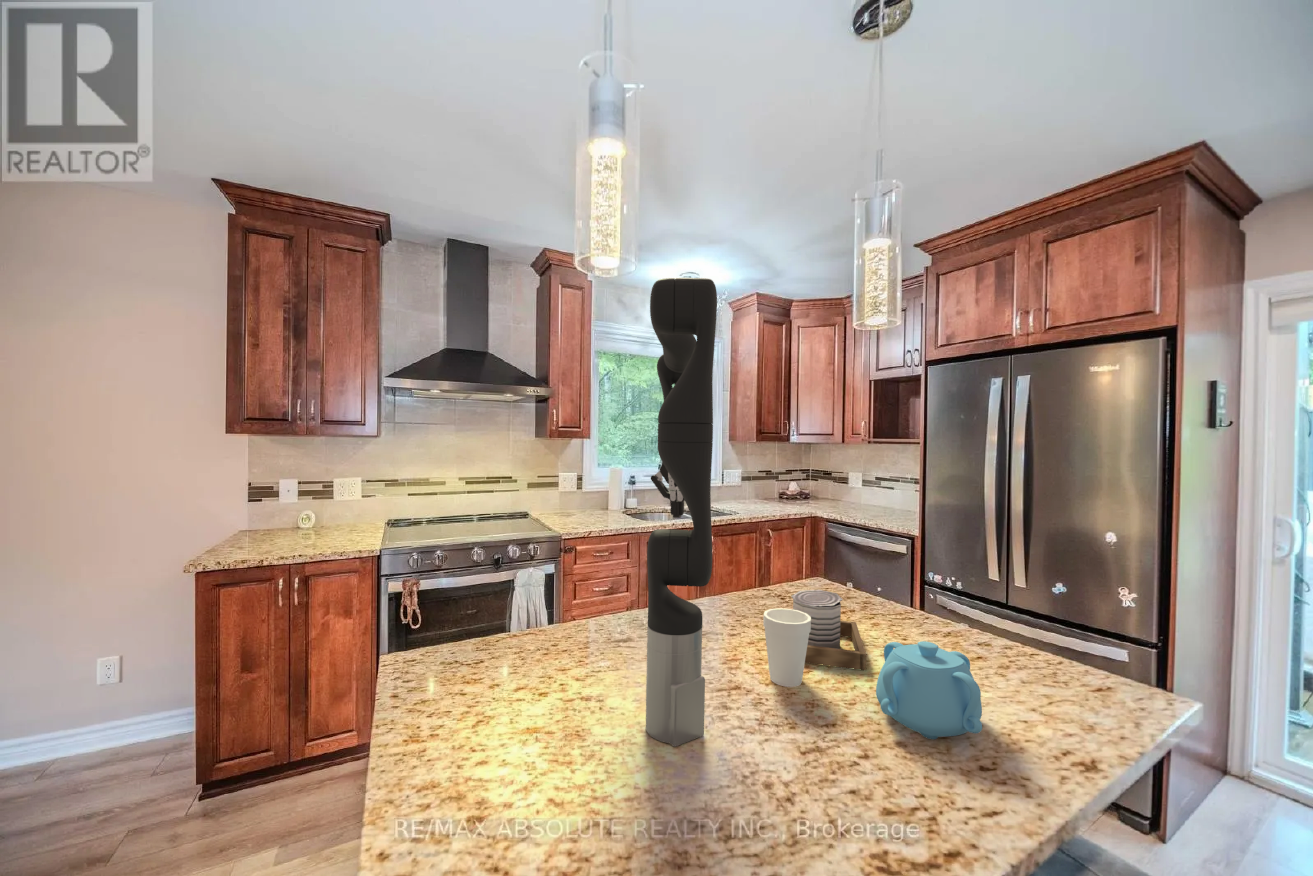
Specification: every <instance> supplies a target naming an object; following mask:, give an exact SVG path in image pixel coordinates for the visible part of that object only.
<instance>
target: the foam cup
mask: <svg viewBox="0 0 1313 876" xmlns="http://www.w3.org/2000/svg"><path fill="white" fill-rule="evenodd" d="M762 619H763V622H762V623H763V625H762V626H763V628H764V635H765V645H766V654H767V663H768V671H769V679H770V680H771V682H772V683H774V684H776V685H778V686H782V687H786V688H787V687H788V688H794V687H799V686H800V685H801V683H802V682H803V676H804V669H805V664H806V663H805V658H806V651H807V645H808V638H809V633H810V631H811V617H810V616H809V615H808V614H806V613H804V612H801V611H798V610H793V608H784V607H783V608H781V607H779V608H769V609H766V610H764V612H763V618H762Z"/></svg>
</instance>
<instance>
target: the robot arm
mask: <svg viewBox="0 0 1313 876" xmlns="http://www.w3.org/2000/svg"><path fill="white" fill-rule="evenodd" d="M649 313H650V316H649V317H650V322H651V326H652V329H653V331H654V334H655V335H656V337H657V339H658V342H659V343H660V344H661V347H662V354H661V355H660V357H659V358H658V360H657V362H656V371H657V376H658V379H659V383H660V386H661V387H660V388H661V392H662V397H663V398H662V399H663V403H662V405H660V409H659V411H658V415H657V423H658V424H657V452H658V455H659V458H660V460H661V465H660V467H659V471H658V472H657V473H655V474H653V475H651V476H650V480H651V481H652V483H653V484H654V486H655V487H656V488H657V490H658V492H659V493H660V494H661V497H663V498H664V499H668V500H669V501H670V515H671V516H672V518H673V519H674V518H675V519H676V518H677V519H679V518H681V517H682V516H684V514H685V504H686V506H687V508H688V511H689V514H690V518H691V520H692V521H691V522H692V525H693V528H692V529H669V528H668V529H666V528H665V529H664V528H658V529H654V530H653V531H652V532H651V533H650V535H649V536H648V537H649V538H648V540H647V550H646V559H647V561H646V565H647V566H646V567H647V591H648V592H647V597H648V598H647V603H648V604H647V633H646V635H647V637H646V638H647V639H646V640H647V641H646V677H645V678H646V681H645V682H646V683H645V684H646V685H645V688H646V689H645V730H646V732H647V734H648V735H649V736H650V737H651V738H653V739H655V740H657V741H659V742H662V743H667V744H670V745H672V746H673V747H677V746H681V745H683V744H686V743H688V742H690V741H693V740H695V739H698V738H700V737H702V736H703V737H704V735H705V705H706V704H705V700H706V699H705V698H706V696H705V695H706V694H705V693H706V678H705V677H704V676H703V675H702V655H703V651H702V650H703V611H702V610H701V608H700V607H699V606H698V605H697V604H695V603H693V602H691V601H689V600H686V599H684V598H682V597H680V596H678V595H677V594H676V593H674V592H672V591H671V590H670V589H669V587H668V586H670V587H671V586H672V587H673V586H674V587H675V586H676V587H697V588H698V587H700V588H701V587H705V586H707V585H708V584H709V583H710V580H711V577H712V573H713V571H712V570H713V533H712V531H713V530H712V528H713V527H712V506H711V504H712V503H711V502H712V501H711V489H712V486H711V483H712V464H713V444H714V442H713V441H714V440H713V439H714V414H713V413H714V407H713V406H714V405H713V404H714V402H713V400H714V399H713V398H714V397H713V396H714V395H713V393H714V392H713V379H714V378H713V376H714V374H713V373H714V370H713V368H714V355H715V342H716V341H715V340H716V330H717V329H716V328H717V327H716V326H717V316H718V292H717V288H716V284H715V282H714V280H713V279H711V278H705V277H704V278H703V277H668V278H667V277H666V278H659V279H657V280H655V282H654V283H653V285H652V287H651V290H650V300H649ZM695 336H696V337H695ZM663 480H664V481H666V483H667V485H668V488H667V486H666V485H665V484H664V483H663Z"/></svg>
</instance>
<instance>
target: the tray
mask: <svg viewBox="0 0 1313 876" xmlns="http://www.w3.org/2000/svg"><path fill="white" fill-rule="evenodd" d="M840 635H842V636H841V637H845V636H851V637H852V638H851V637H850V638H851V641H853V642H852V646H853V649H855V650H852V649H851V650H850V649H843V648H842V649H841V648H840V649H836V648H827V647H819V646H811V645H807V651H806V658H805V664H811V665H818V664H823V665H822V666H826V665H830V666H829V667H833V666H836V667H835V668H841V667H842V669H843V668H844V669H849V668H854V669H853V670H856V669H861V670H860V671H864V670H866V668H867V653H866V650H865V647H864V643H863V641H862V637H861V633H860V631H859V627H858V623H857V622H856V621H847V620H840Z"/></svg>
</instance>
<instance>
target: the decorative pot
mask: <svg viewBox="0 0 1313 876" xmlns="http://www.w3.org/2000/svg"><path fill="white" fill-rule="evenodd" d="M883 657H884V663H883V665H882V667H881V669H880V671H879V674H878V678H877V681H876V686H875V687H876V688H875V697H876V699H877V701H878V703H879V705H880V706H879V707H880V710H881V711H882V713H883V714H884V715H886V716H889V717H891V718H893V720H895V721H896V722H898V723H900V724H901V725H902V726H904V727H906V728H909V730H912V731H914V732H916V733H919V734H920V735H921V736H922V737H924V738H926V739H929V740H937V739H938V738H939V737H940V738H942V737H943V738H944V737H955V736H961V735H964V734H967V733H968V732H969V733H970V734H979V733H981V732H982V730H983V724H982V721H981V718H982V715H983V706H982V699H981V697H982V696H981V695H982V694H981V689H980V686H979V685H978V683H977V681H976V680H975V678H974V676H973V674H972V672H971V662H970V660H969V657H968V656H966V654H964V653H962V652H960V651H957V650H952V651H948V650H945V649H943V648H941V647H939V646H938V645H937V644H935V643H934V642H930V641H925V640H922V641H918V642H917V643H915V644H914V643H913V644H902V643H900V642H899V641H890V642H888V643H887V644H885V646H884V647H883Z"/></svg>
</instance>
